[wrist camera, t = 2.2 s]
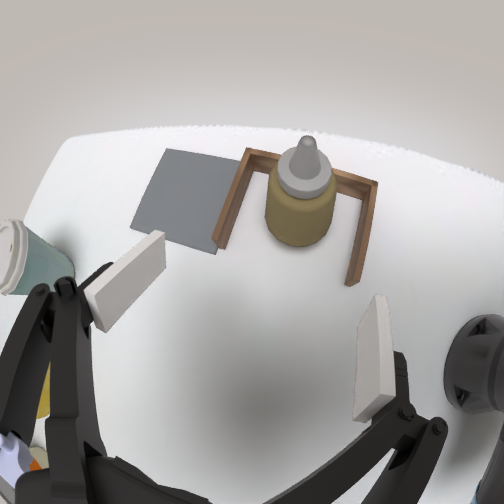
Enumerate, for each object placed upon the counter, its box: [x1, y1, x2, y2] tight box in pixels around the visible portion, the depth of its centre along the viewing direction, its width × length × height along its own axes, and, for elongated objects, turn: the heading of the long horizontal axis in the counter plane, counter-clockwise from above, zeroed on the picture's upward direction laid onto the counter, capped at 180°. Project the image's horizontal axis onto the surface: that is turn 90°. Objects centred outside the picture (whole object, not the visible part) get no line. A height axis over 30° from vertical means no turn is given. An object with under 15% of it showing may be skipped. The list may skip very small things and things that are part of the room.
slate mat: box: [130, 148, 241, 255], centre depth 38 cm, size 14×14×1 cm
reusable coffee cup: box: [0, 447, 49, 504], centre depth 22 cm, size 12×13×15 cm
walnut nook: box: [211, 147, 378, 286], centre depth 34 cm, size 18×13×4 cm
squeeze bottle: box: [265, 135, 337, 247], centre depth 27 cm, size 8×8×18 cm
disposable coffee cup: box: [0, 219, 75, 296], centre depth 31 cm, size 11×11×15 cm
